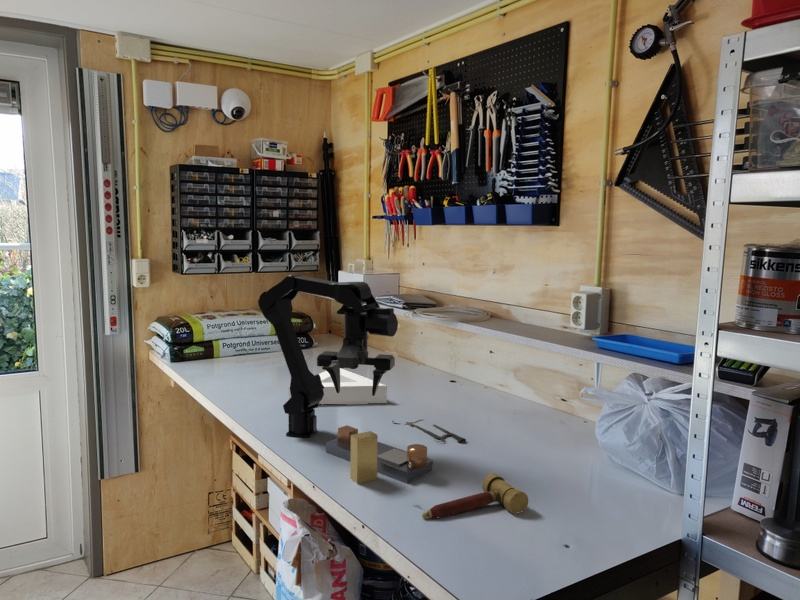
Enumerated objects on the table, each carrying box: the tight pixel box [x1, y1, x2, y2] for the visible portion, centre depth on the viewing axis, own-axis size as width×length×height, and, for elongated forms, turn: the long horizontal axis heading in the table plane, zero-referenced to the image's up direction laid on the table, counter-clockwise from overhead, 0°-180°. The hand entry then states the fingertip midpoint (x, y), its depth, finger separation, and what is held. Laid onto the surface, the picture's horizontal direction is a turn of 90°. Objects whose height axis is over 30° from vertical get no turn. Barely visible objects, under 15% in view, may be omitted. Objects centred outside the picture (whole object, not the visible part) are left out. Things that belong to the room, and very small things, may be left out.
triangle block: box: [288, 368, 388, 406], centre depth 191 cm, size 30×26×6 cm
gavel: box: [421, 473, 529, 519], centre depth 118 cm, size 21×5×10 cm
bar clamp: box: [391, 419, 467, 444], centre depth 162 cm, size 24×10×2 cm, turn 29°
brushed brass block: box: [349, 430, 379, 485], centre depth 131 cm, size 3×5×10 cm, turn 123°
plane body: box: [325, 425, 434, 484], centre depth 141 cm, size 27×9×6 cm, turn 49°
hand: (355, 394), depth 150 cm, fingers open, 9 cm apart
